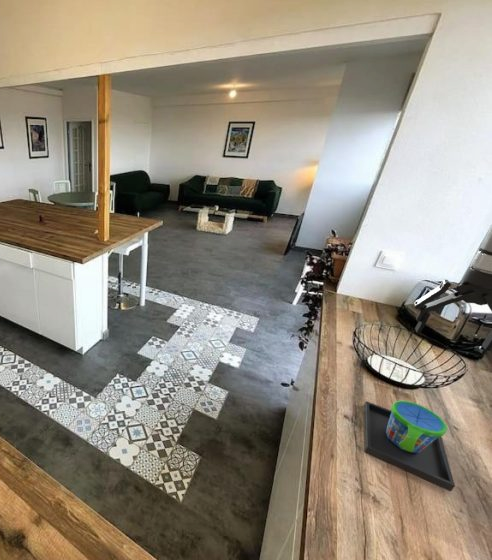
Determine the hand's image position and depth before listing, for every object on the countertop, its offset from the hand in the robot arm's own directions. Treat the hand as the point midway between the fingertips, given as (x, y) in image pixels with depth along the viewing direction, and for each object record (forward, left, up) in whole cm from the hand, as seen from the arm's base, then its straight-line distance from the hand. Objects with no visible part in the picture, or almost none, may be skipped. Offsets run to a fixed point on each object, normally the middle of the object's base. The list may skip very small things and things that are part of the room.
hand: (450, 339), depth 87 cm
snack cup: (+3, +20, -25) cm, 32 cm away
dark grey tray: (+4, +19, -25) cm, 32 cm away
